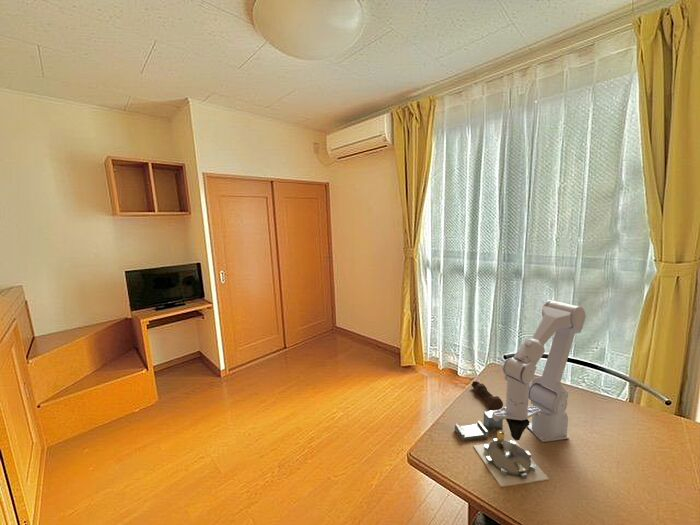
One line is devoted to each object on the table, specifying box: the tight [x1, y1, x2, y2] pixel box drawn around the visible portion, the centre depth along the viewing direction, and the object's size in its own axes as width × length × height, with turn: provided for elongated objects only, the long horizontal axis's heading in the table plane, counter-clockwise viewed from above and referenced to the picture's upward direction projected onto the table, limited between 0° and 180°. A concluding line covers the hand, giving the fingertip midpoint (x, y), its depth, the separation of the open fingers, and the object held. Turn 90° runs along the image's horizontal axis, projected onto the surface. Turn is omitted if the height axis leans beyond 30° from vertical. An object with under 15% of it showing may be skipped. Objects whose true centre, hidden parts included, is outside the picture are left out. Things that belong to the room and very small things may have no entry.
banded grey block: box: [483, 410, 504, 432], centre depth 99 cm, size 5×3×5 cm, turn 96°
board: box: [473, 439, 550, 488], centre depth 85 cm, size 14×14×1 cm
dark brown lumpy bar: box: [471, 381, 504, 411], centre depth 114 cm, size 6×5×15 cm
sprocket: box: [484, 429, 535, 479], centre depth 84 cm, size 13×13×6 cm
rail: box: [454, 420, 489, 442], centre depth 96 cm, size 9×5×2 cm, turn 96°
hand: (515, 438), depth 89 cm, fingers closed
